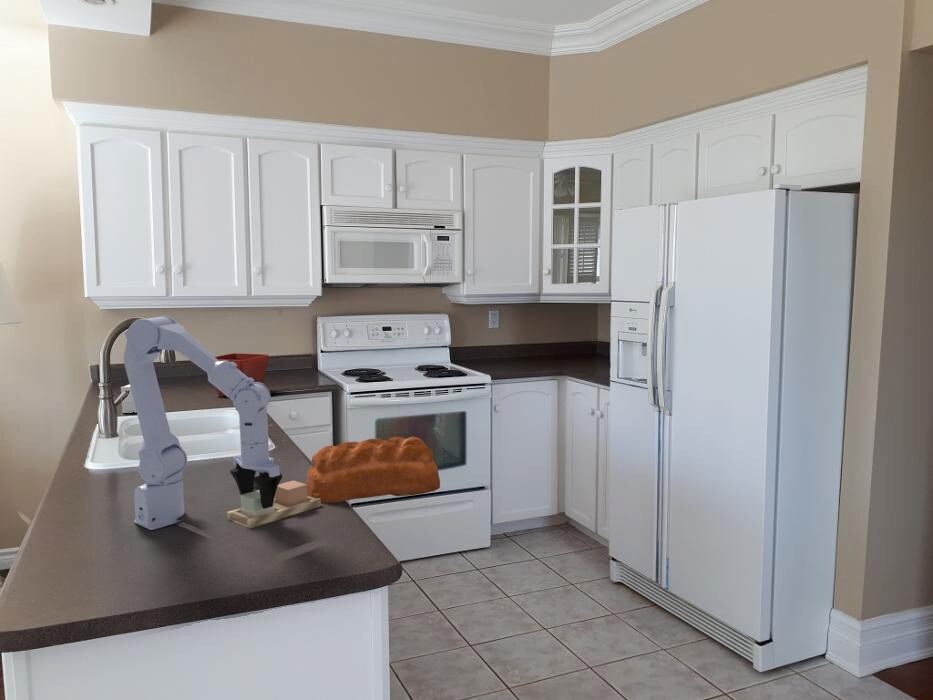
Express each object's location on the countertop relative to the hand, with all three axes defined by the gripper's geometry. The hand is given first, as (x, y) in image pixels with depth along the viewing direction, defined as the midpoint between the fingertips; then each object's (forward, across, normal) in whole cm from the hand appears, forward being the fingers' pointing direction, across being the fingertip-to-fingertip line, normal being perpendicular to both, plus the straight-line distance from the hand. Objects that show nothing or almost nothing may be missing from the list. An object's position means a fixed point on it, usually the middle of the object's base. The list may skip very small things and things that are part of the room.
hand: (257, 503), depth 155 cm
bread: (+5, -3, -30) cm, 31 cm away
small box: (+4, +144, -39) cm, 149 cm away
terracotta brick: (+3, 0, -9) cm, 9 cm away
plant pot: (+4, +145, -85) cm, 168 cm away
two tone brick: (+3, 0, 0) cm, 3 cm away
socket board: (+4, 0, -4) cm, 6 cm away
